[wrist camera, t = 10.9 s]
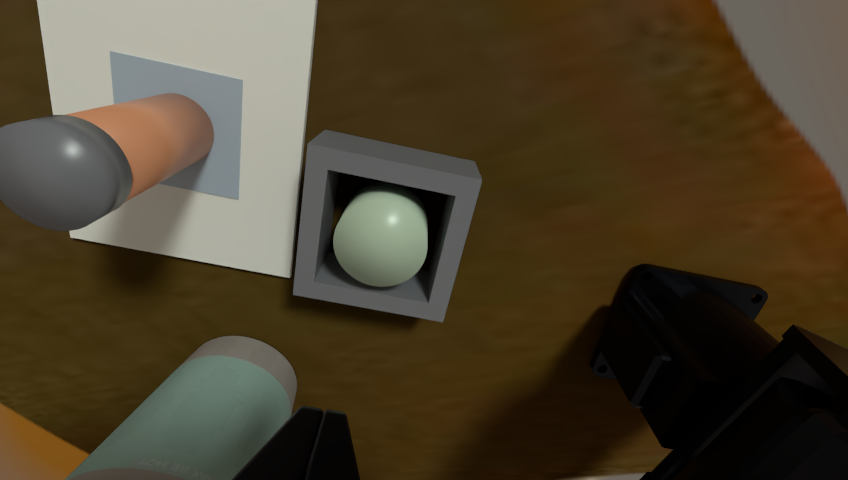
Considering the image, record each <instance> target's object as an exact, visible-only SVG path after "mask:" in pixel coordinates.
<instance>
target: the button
mask: <svg viewBox="0 0 848 480" xmlns="http://www.w3.org/2000/svg"><path fill="white" fill-rule="evenodd" d="M333 246H334V252H335V255H336V258H337V260H338V262H339V264H340V265H341V266H342V268H343V269H344V270H345V271H346V272H347V273H348V274H349V275H350V276H352V277H353V278H355V279H356V280H358V281H360V282H362V283H365V284H368V285H372V286H378V287H386V286H393V285H397V284H400V283H403V282H405V281H407V280H408V279H410V278H411V277H413V276H414V275H415V274H416V273H417V272H418V271H419V269H420V268H421V266H422V265H423V263H424V261H425V258H426V255H427V247H428V219H427V213H426V210H425V207H424V205H423V204H422V202H421V200H420V199H419V198H418V197H417V196H416V195H415V194H414V193H413V192H412V191H411V190H409V189H408V188H406V187H404V186H401V185H399V184H395V183H390V182H379V183H374V184H370V185H368V186H365V187H364V188H362V189H360V190H359V191H358V192H357V193H356V194H355V195H354V196H353V197H352V198H351V199H350V201H349V203H348V205H347V207H346V209H345V211H344V213H343V215H342V216H341V218H340V220H339V222H338V224H337V226H336V229H335V232H334V237H333Z"/></svg>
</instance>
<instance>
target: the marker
mask: <svg viewBox="0 0 848 480" xmlns="http://www.w3.org/2000/svg"><path fill="white" fill-rule="evenodd" d="M213 142H214V129H213V125H212V122H211V120H210V118H209V116H208V115H207V113H206V112H205V110H204V109H203V108H202V107H201V106H200V105H199V104H198V103H196V102H195V101H194V100H192V99H190V98H188V97H186V96H184V95H180V94H176V93H165V94H160V95H155V96H150V97H146V98H141V99H136V100H132V101H127V102H122V103H118V104H113V105H108V106H103V107H99V108H94V109H89V110H85V111H80V112H75V113H71V114H66V115H51V116H46V117H42V118H37V119H32V120H27V121H22V122H17V123H13V124H9V125H6V126H4V127H1V128H0V199H1V200H2V202H3V203H4V204H5V205H6V206H7V207H8V208H10V209H11V210H12V211H13V212H14V213H16V214H17V215H19V216H20V217H22V218H23V219H25V220H27V221H29V222H31V223H33V224H35V225H37V226H40V227H43V228H47V229H51V230H57V231H73V230H77V229H81V228H84V227H86V226H88V225H89V224H91V223H93V222H95V221H96V220H98V219H100V218H102V217H104V216H105V215H107V214H109V213H111V212H112V211H114V210H116V209H118V208H119V207H120V206H121V205H123V203H124V202H126V201H128V200H130V199H132V198H133V197H135V196H137V195H139V194H140V193H142V192H144V191H146V190H148V189H149V188H151V187H153V186H155V185H156V184H158V183H160V182H162V181H164V180H165V179H167V178H169V177H171V176H172V175H174V174H176V173H178V172H180V171H181V170H183V169H185V168H187V167H188V166H190V165H192V164H194V163H196V162H197V161H199V160H201V159H203V158H204V157H205V156H206V155H207V154H208V153H209V152H210V150H211V148H212V146H213Z"/></svg>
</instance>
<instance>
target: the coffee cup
mask: <svg viewBox="0 0 848 480" xmlns="http://www.w3.org/2000/svg"><path fill="white" fill-rule="evenodd" d="M296 390H297V380H296V375H295V373H294V370H293V368H292V366H291V365H290V363H289V362H288V361H287V359H286V358H285V357H284V356H283V355H282V354H281V353H280V352H278V351H277V350H276V349H274V348H273V347H271V346H269V345H268V344H266V343H264V342H261V341H259V340H256V339H252V338H248V337H242V336H224V337H219V338H215V339H212V340H210V341H208V342H206V343H204V344H203V345H201V346H200V347H199V348H198V349H197V350H196V351H195V352H194V353H193V354H192V355H191V356H190V357H189V358H188V359H187V360H186V361H185V362H184V363H183V364H182V365H180V366H179V367H178V368H177V369H176V370H175V371H174V372H173V373H172V374H171V375H170V376H169V377H168V378H167V379H166V380H165V381H164V382H163V383H162V384H161V385H160V386H159V387H158V388H157V389H156V390H155V391H154V392H153V393H152V394H151V395H150V396H149V397H148V398H147V399H146V400H145V401H144V402H143V403H142V404H141V405H140V406H139V407H138V408H137V409H136V410H135V411H134V412H133V413H132V414H131V415H130V416H129V417H128V418H127V419H126V420H125V421H124V422H123V423H122V424H121V425H120V426H119V427H118V428H117V429H116V430H115V431H114V432H113V433H112V434H111V435H110V436H108V437H107V438H106V439H105V440H104V441H103V442H102V443H101V444H100V445H99V446H98V447H97V448H96V449H95V450H94V451H93V452H92V453H91V454H90V455H89V456H88V457H87V458H86V459H85V460H84V461H83V462H82V464H80V465H79V466H78V467H77V468H76V469H75V470H74V471H73V472H72V473H71V474H70V475H69V476H68V477H67V478H66V479H65V480H231V479H232V478H233V477H234V476H235V475H236V474H237V473H238V472H239V471H240V470H241V469H242V468H243V467H244V466H245V465H246V464H247V462H248V461H249V460H250V459H251V458H252V457H253V456H254V455H255V454H256V453H257V452H258V451H259V450H260V449H261V448H262V447H263V445H264V444H265V443H266V442H267V441H268V440H269V439H270V438H271V437H272V436H273V435H274V434H275V433H276V432H277V431H278V430H279V429H280V427H281V426H282V425H283V424H284V423H285V422H286V421H287V420H288V419H289V418H290V417H291V413H292V409H293V404H294V400H295V395H296Z"/></svg>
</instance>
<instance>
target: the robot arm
mask: <svg viewBox="0 0 848 480" xmlns="http://www.w3.org/2000/svg"><path fill="white" fill-rule="evenodd" d="M647 272H649V273H648V275H647V276H646V277H644V278H642V275H643V274H645V273H647ZM754 295H756V296H755V297H754V298H752V297H753V296H754ZM751 298H752V299H751ZM767 298H768V294H767V293H766V291H764V290H763V289H761V288H760V287H758V286H755V285H750V284H745V283H740V282H736V281H731V280H726V279H721V278H716V277H711V276H706V275H701V274H696V273H691V272H686V271H681V270H676V269H671V268H666V267H661V266H656V265H651V264H641V265H639V266H637V267H636V268H635V269H634V271H633V272H632V275H631V277H630V279H629V281H628V283H627V285H626V287H625V290H624V292H623V294H622V296H621V298H620V300H619V302H618V303H617V304H616V305H615V307H614V309H613V311H612V313H611V315H610V317H609V320H608V322H607V324H606V326H605V328H604V330H603V333H602V335H601V337H600V339H599V341H598V347H597V349H596V351H595V354H594V356H593V358H592V360H591V362H590V367H591V369H592V371H593V373H594V374H595V375H596V376H599V377H605V378H611V379H616V380H618V382H619V384H620V386H621V387H622V389H623V391H624V393H625V395H626V396H627V398H628V400H629V402H630V403H631V405H632V406H633V407H635V408H640V410H641V412H642V414H643V415H644V417H645V419H646V420H647V422H648V424H649V426H650V427H651V429H652V431H653V432H654V434H655V436H656V438H657V439H658V441H659V443H660V444H661V446H662V447H664V448H668V449H673V450H672V451H671V452H670V453H669V454H668V455H667V456H666V457H665V458H664V459H663V461H662V462H661V463H660V464H659V465H658V466H657V467H656V468H655V469H654V470H653V471H652V472H647V473H646V474H645V475H644V476H643V477H642V478H641V479H640V480H848V349H846V348H844V347H842V346H840V345H838V344H835V343H833V342H831V341H829V340H827V339H825V338H822V337H820V336H818V335H816V334H814V333H812V332H810V331H807V330H805V329H803V328H801V327H799V326H797V325H794V324H793V325H792V326H791V327H790V328H789V329H788V330H787V331H786V332H785V333H784V334H783V335H782V337H783V338H784V339H783V340H782V341H781V342H780V343H779V342H778V341H777V340H776V339H775V338H773V337H772V336H771V335H770V334H769V333H768V332H766V331H765V330H764V329H763V328H762V327H760V326H759V325H758V324H757V323H756V322H754V320H755V318H756V316H757V315H758V313H759V312H760V310H761V309H762V307H763V305H764V304H765V302H766V301H767ZM601 365H604V366H603V367H600V368H598V367H599V366H601ZM231 480H360V476H359V472H358V467H357V462H356V457H355V453H354V448H353V443H352V439H351V434H350V429H349V424H348V420H347V416H346V414H345V413H344V412H340V411H333V410H325V411H324V412H323V411H322V410H321V409H320V408H314V407H308V406H302V407H300V408H299V409H297V410H296V412H295V413H294V414H293V415H292V416H291V417H290V418H289V419H288V420H287V421H286V422H285V423H284V424H283V425H282V426H281V427H280V429H279V430H278V431H277V432H276V433H275V434H274V435H273V436H272V437H271V438H270V439H269V440H268V441H267V442H266V443H265V444H264V445H263V447H262V448H261V449H260V450H259V451H258V452H257V453H256V454H255V455H254V456H253V457H252V458H251V459H250V460H249V461H248V462H247V464H246V465H245V466H244V467H243V468H242V469H241V470H240V471H239V472H238V473H237V474H236V475H235V476H234V477H233V478H232V479H231Z"/></svg>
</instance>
